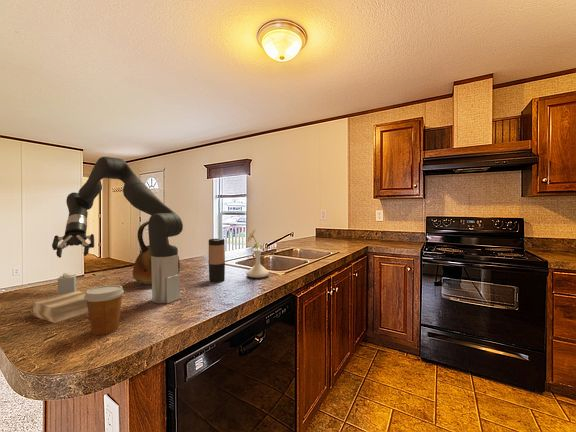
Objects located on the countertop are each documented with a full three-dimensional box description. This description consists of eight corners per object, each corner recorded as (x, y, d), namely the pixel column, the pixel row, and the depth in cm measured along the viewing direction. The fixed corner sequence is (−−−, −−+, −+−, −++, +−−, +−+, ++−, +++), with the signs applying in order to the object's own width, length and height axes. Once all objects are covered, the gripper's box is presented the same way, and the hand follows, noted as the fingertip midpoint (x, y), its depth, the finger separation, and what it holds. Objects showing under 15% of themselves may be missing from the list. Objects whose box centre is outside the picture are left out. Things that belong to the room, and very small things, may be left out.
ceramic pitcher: (187, 281, 130) (186, 219, 130) (143, 291, 115) (141, 220, 114) (168, 274, 143) (168, 218, 142) (126, 282, 128) (125, 219, 127)
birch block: (98, 309, 96) (98, 295, 95) (54, 324, 84) (53, 308, 84) (77, 304, 101) (77, 290, 101) (33, 316, 89) (32, 301, 89)
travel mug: (210, 283, 127) (210, 240, 126) (207, 279, 134) (206, 239, 133) (226, 281, 130) (226, 239, 130) (222, 277, 137) (222, 238, 136)
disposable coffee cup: (98, 323, 83) (97, 284, 83) (130, 322, 84) (130, 284, 83) (76, 338, 74) (75, 294, 73) (113, 337, 74) (112, 294, 74)
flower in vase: (254, 273, 147) (254, 226, 146) (273, 275, 142) (272, 227, 141) (240, 278, 135) (239, 228, 134) (259, 281, 130) (259, 229, 129)
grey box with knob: (79, 296, 109) (78, 270, 109) (76, 300, 104) (76, 274, 103) (58, 298, 106) (58, 272, 106) (54, 303, 100) (54, 276, 100)
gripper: (54, 221, 118) (48, 251, 108) (94, 220, 125) (92, 248, 116) (58, 232, 123) (52, 262, 113) (96, 231, 130) (94, 259, 120)
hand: (72, 255), depth 114 cm, fingers open, 8 cm apart
